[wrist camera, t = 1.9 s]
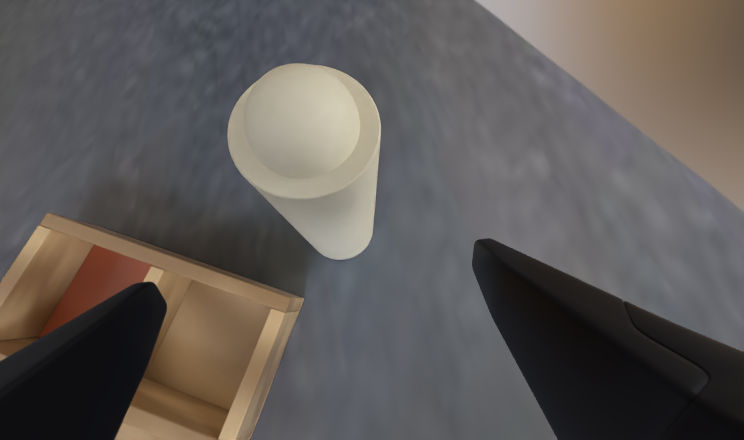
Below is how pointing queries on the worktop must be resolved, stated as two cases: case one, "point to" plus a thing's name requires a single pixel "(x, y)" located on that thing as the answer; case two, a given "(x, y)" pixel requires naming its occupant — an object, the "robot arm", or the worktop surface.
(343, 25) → the worktop surface
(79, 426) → the robot arm
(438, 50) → the worktop surface
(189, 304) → the grid
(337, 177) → the dome-topped white cylinder
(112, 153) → the worktop surface
